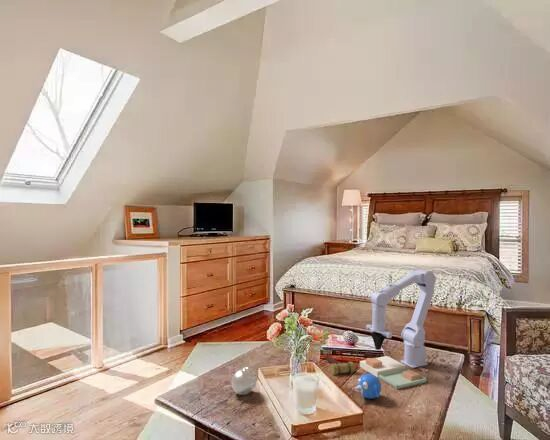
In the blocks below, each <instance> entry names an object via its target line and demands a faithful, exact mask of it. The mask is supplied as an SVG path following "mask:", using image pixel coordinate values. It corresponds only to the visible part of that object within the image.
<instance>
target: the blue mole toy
mask: <svg viewBox="0 0 550 440" xmlns="http://www.w3.org/2000/svg"><path fill="white" fill-rule="evenodd" d="M351 390H352V391H355V392H356V393H358V394H359V395H361V396H362V397H364V398H366V399H369V400H370V399H376V398H380V396H381V395H380V394H381V391H382V383H381V381H380V379H379V378H378V377H376V376H375V375H373V374H371V373H364V374H362V375H361V376H360V377H359V378H358V379H357V385H356V386H355V387H352V389H351Z"/></svg>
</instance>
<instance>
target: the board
mask: <svg viewBox="0 0 550 440" xmlns="http://www.w3.org/2000/svg"><path fill="white" fill-rule="evenodd" d="M375 358H376V359H378V360H380V361H382V366H381V367H376V368H372V367H370V366H369V365H367V364H366V359H365V360H363V359H362V360H359V367H360V368H361V369H362V370H365V371H366V372H368V374H373V375H375V376H376V377H377V378H378V374H381V373H386V372H390V371H395V370H400V369H404V368H407V365H406V364H404V363H402V362H400V361H398V360H396V359H394V358H392V357H391V356H388V355H385V356H384V355H383V356H380V357H375Z"/></svg>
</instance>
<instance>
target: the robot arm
mask: <svg viewBox="0 0 550 440" xmlns="http://www.w3.org/2000/svg"><path fill="white" fill-rule="evenodd" d="M436 281H437V278H436V276H435V274H434V273H433V271H430V270H425V269H419V268H414V269H413V270H412V271H409V273H408V274H407V275H406V276H405V277H403V278H402V279H401V280H398V281H397V282H396V283H387V286H385V287H384V288H382V289H379V291H374V292H373V293H372V294H371V295H370V297H369V301H370V303H371V308H372V309H371V310H372V311H371V312H372V313H371V314H372V315H371V319H372V320H371V324H370V323H369V324H366V325H365V329H366V330H369V331H371V332H370V336H371V338H372V340H373V344H374V348H375V350H377V351H379V350H382V346H383V343H384V341H385V339H386V338H387V339H392V336H393V333H392V332H390V331H389V330H387V329H386V313H387V312H386V307H387V305H388V304H389V303H390V301H391V300H393V299H394V298H396V297H397V296H399V295H400V292H401V291H403V289H405V288H408V287H409V286H411V285H413V284H416V285H417V286H418V288H419V290H420V292H419V295H418V299H417V302H416V305H415V307H414V311H413V314H412V317H411V319H410V322H407V323H406V324H405V326H404V328H403V329H402V331H401V333H400V335H401V339H402V340H403V343H404V350H403V351H404V357H403V358H404V359H402V360H399V362H400V363H402V364H404V365H406V366H408V367H410V368H412V369H414V368H418V367H424V366H427V365H428V363H427V348H426V346H425V342H426V341H425V340H426V337H425V336H426V331H425V329H424V327H423V326H424V323H425V321H426V318H427V314H428V311H429V308H430V305H431V302H432V299H433V297H434V296H433V295H434V293H435V284H436Z"/></svg>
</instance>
